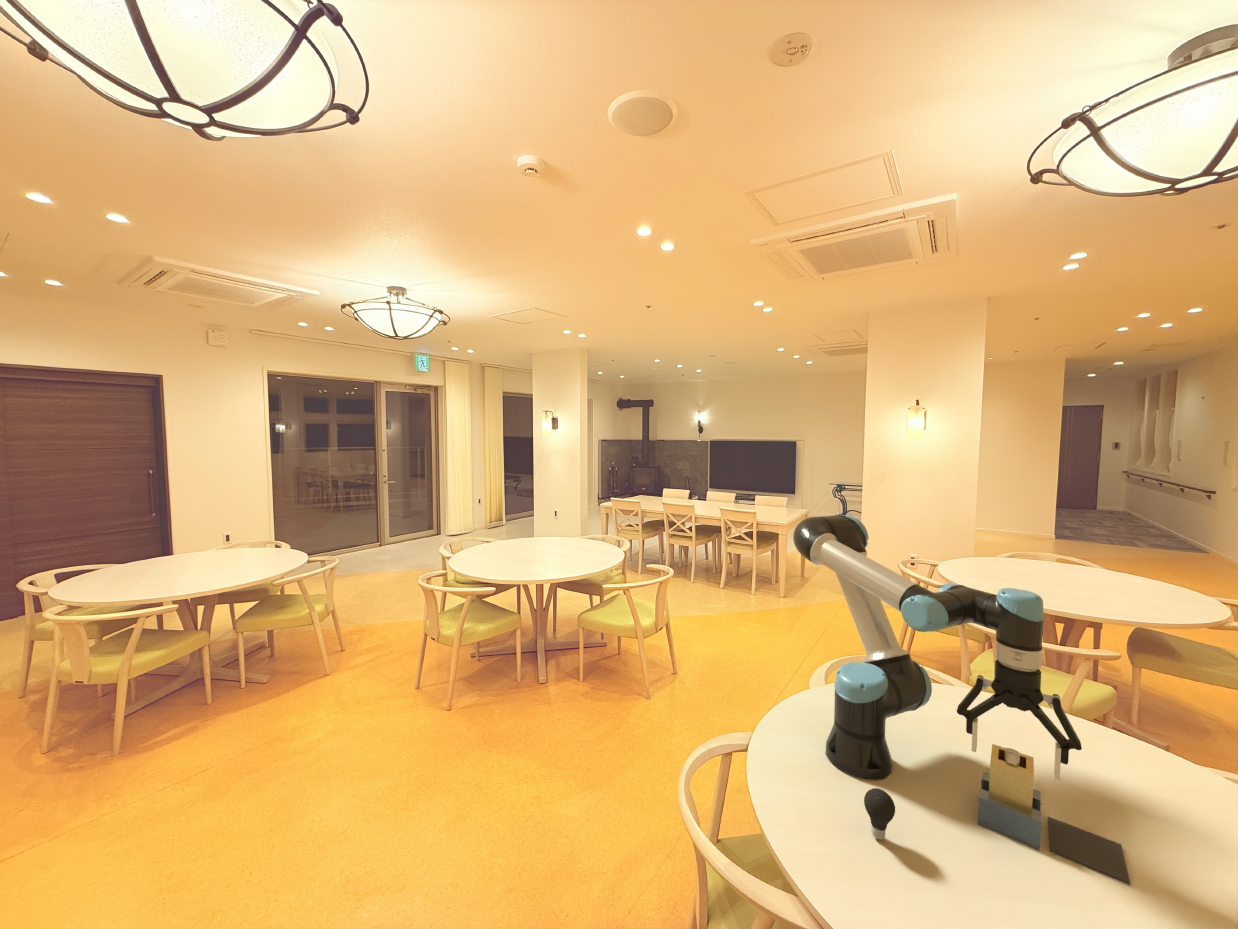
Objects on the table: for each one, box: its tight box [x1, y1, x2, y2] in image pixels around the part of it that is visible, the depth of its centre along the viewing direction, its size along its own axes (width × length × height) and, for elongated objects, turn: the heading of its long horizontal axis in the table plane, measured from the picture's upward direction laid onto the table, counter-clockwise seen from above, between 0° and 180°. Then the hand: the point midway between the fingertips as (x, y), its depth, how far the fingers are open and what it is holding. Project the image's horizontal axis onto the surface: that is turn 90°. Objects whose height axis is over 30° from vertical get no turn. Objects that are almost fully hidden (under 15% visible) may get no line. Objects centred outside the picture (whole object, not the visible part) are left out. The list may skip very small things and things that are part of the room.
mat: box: [1047, 816, 1131, 886], centre depth 96 cm, size 11×11×1 cm
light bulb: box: [863, 787, 896, 841], centre depth 98 cm, size 6×6×10 cm
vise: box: [977, 747, 1043, 852], centre depth 106 cm, size 10×18×16 cm, turn 140°
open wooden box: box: [989, 743, 1035, 812], centre depth 103 cm, size 7×7×8 cm
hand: (1013, 762), depth 102 cm, fingers open, 13 cm apart
